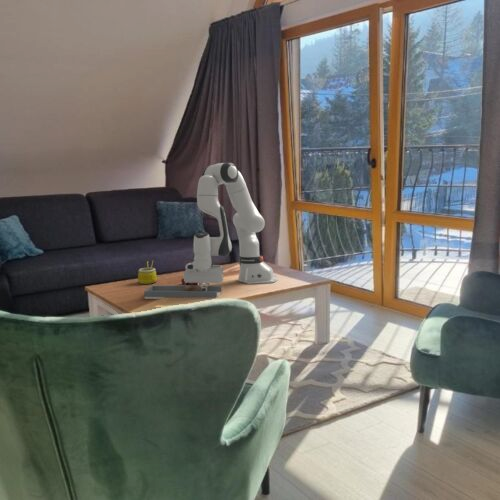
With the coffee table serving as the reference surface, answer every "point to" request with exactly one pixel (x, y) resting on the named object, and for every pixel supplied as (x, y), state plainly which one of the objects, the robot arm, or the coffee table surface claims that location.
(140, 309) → the coffee table surface
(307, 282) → the coffee table surface
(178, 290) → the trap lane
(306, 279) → the coffee table surface
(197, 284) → the red wheeled piece
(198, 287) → the walnut block
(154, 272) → the mug
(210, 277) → the robot arm
